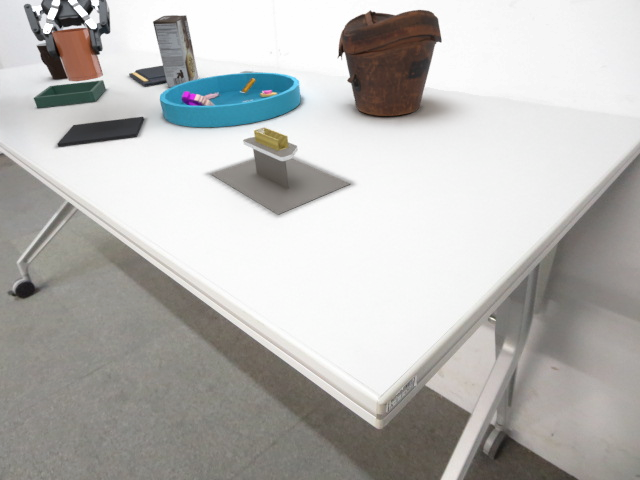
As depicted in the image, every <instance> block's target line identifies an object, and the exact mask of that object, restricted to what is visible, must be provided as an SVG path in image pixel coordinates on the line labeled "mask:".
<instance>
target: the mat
mask: <svg viewBox="0 0 640 480" xmlns="http://www.w3.org/2000/svg"><path fill="white" fill-rule="evenodd" d="M144 121H145V118H144V116H136V117H129V118H120V119H110V120H104V121H103V120H102V121H94V122H87V123H78V124H72V126H71V127H70V128H69V130H68V131H66V133H65V134H64V135H63V136H62V138H60V140H59V141H58V142H57V143H56V145H57V147H59V148H60V147H68V146H74V145H83V144H90V143H99V142H107V141H113V140H121V139H129V138H136V137H138V135H139V132H140V130H141V128H142V125H143V122H144Z"/></svg>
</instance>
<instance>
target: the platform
mask: <svg viewBox="0 0 640 480" xmlns="http://www.w3.org/2000/svg"><path fill="white" fill-rule="evenodd" d="M253 132H254V133H253V135H254V136H252V137H248V138H244V139H243V145H244V146H246V147H248V148H251V149H252V151H253V159H250V160H247V161H244V162H242V163H239V164H236V165H232V166H230V167H229V166H228V167H226V168H224V169H220V170H217V171H215V172H211V173H210V175H211V176H213V177H215V178H217V179H218V180H220V181H221V182H223V183H225V184H227V185H228V186H230V187H231V188H233V189H235V190H236V191H238V192H240V193H242V194H243V195H244V196H247V197H248V198H250V199H252V200H253V201H254V202H256V203H258V204H260V205H261V206H263V207H265V208H267V209H268V210H269V211H272V212H273V213H275V214H276V215H280V214H283V213H285V212H288V211H290V210H292V209H295V208H297V207H299V206H302V205H304V204H306V203H309V202H311V201H313V200H316V199H318V198H322V197H323V196H325V195H327V194H330V193H333V192H335V191H337V190H340V189H342V188H344V187H347V186H349V185H351V183H350V182H348V181H345V180H343V179H341V178H338V177H336V176H335V175H332V174H329V173H328V172H325V171H322V170H320V169H318V168H315V167H313V166H311V165H309V164H306V163H304V162H301V161H299V160H297V159H294V158H293V157H294V156H295V155H296V153H297V152H298V145H296V144H293V143H291V142H289V138H288V135H287V134H283V133H281V132H278V131H275V130H274V129H273V130H272V129H271V128H267V127H265V126H264V127H260V128H256V129H254V130H253Z"/></svg>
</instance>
